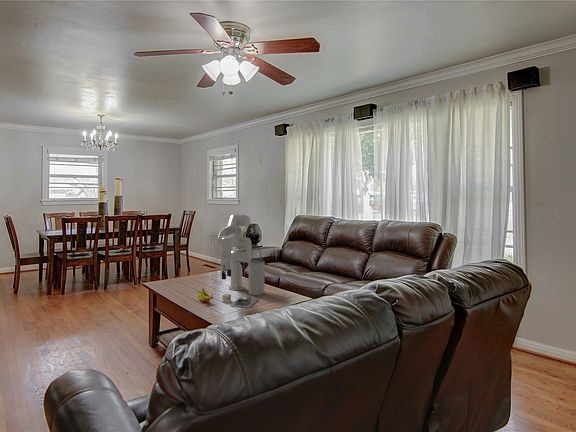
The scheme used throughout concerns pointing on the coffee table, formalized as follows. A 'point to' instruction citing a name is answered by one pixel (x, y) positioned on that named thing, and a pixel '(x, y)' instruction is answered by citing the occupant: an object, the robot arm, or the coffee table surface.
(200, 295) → the yellow toy car
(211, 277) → the coffee table surface
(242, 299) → the carrier plate
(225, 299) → the block
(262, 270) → the cylinder vase
